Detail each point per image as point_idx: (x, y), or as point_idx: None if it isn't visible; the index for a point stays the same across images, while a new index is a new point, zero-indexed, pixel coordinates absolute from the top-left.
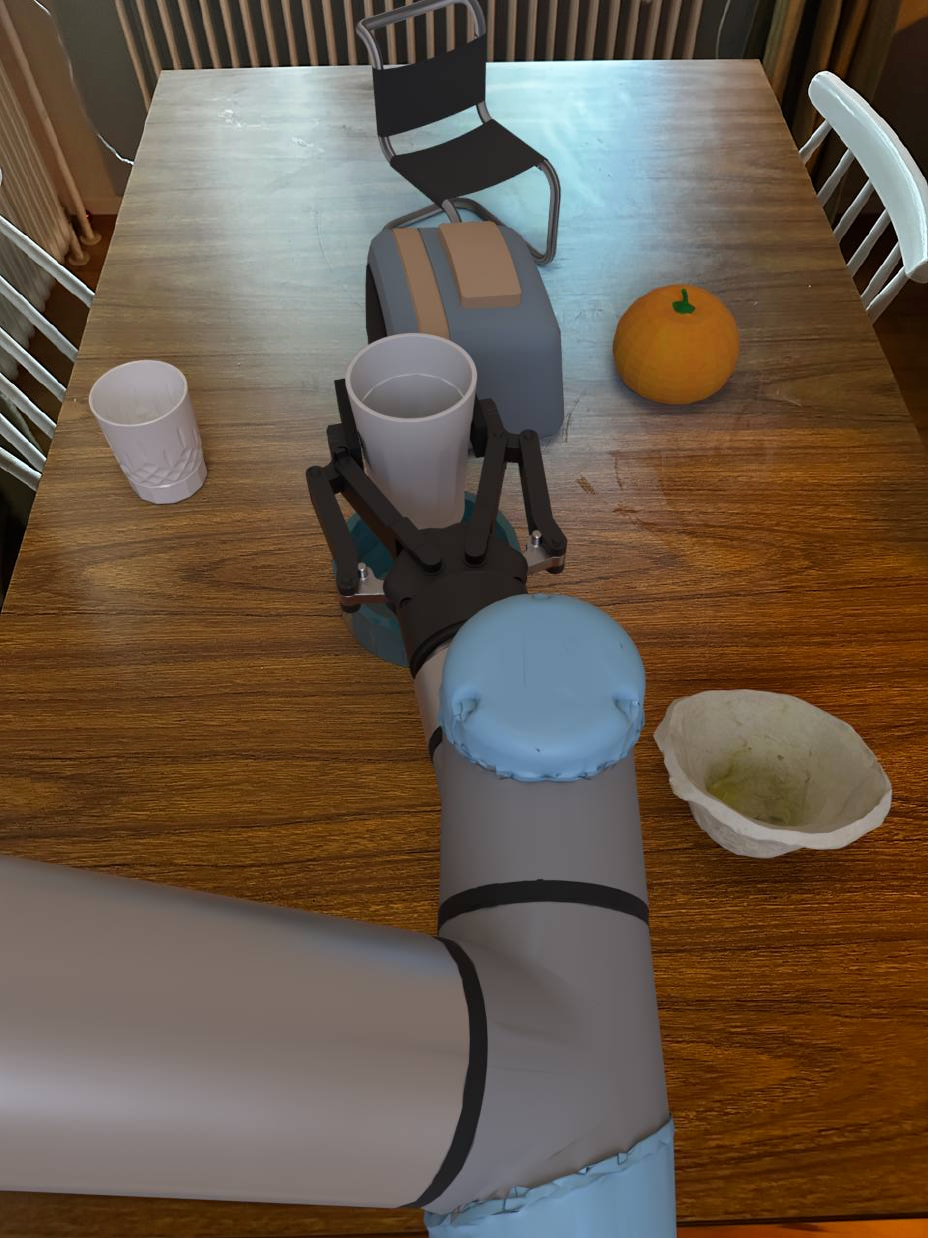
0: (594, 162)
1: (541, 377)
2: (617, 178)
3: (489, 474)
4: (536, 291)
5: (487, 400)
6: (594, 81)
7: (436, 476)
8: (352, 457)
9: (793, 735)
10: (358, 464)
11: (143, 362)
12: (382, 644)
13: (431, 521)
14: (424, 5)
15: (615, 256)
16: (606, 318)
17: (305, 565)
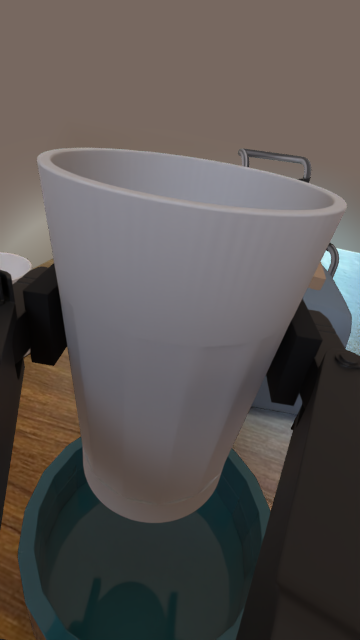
0: (342, 279)
1: None
2: (355, 288)
3: (333, 456)
4: (334, 287)
5: (314, 313)
6: (341, 254)
7: (179, 409)
8: (29, 313)
9: None
10: (41, 333)
11: (13, 255)
12: (37, 635)
13: (151, 492)
14: (279, 155)
15: (357, 319)
16: (353, 349)
17: (43, 459)
